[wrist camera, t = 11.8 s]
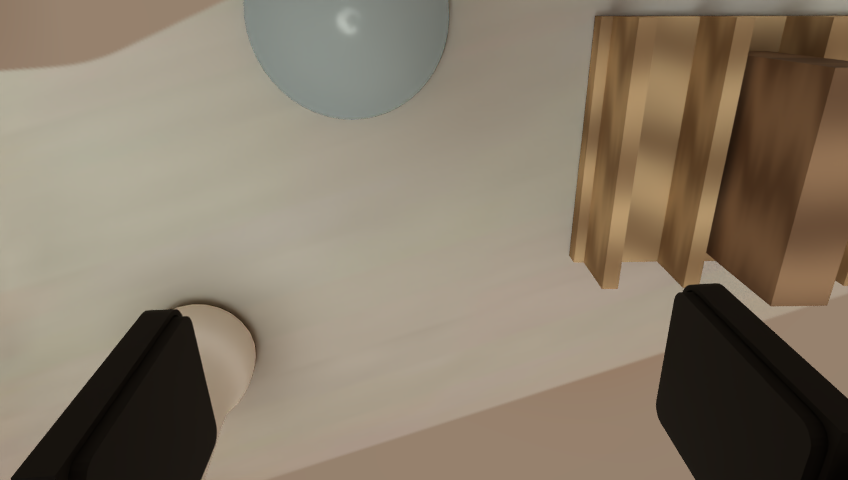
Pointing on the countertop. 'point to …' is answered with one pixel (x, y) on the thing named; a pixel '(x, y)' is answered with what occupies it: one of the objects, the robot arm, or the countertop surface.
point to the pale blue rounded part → (348, 51)
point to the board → (786, 180)
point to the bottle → (222, 357)
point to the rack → (670, 132)
